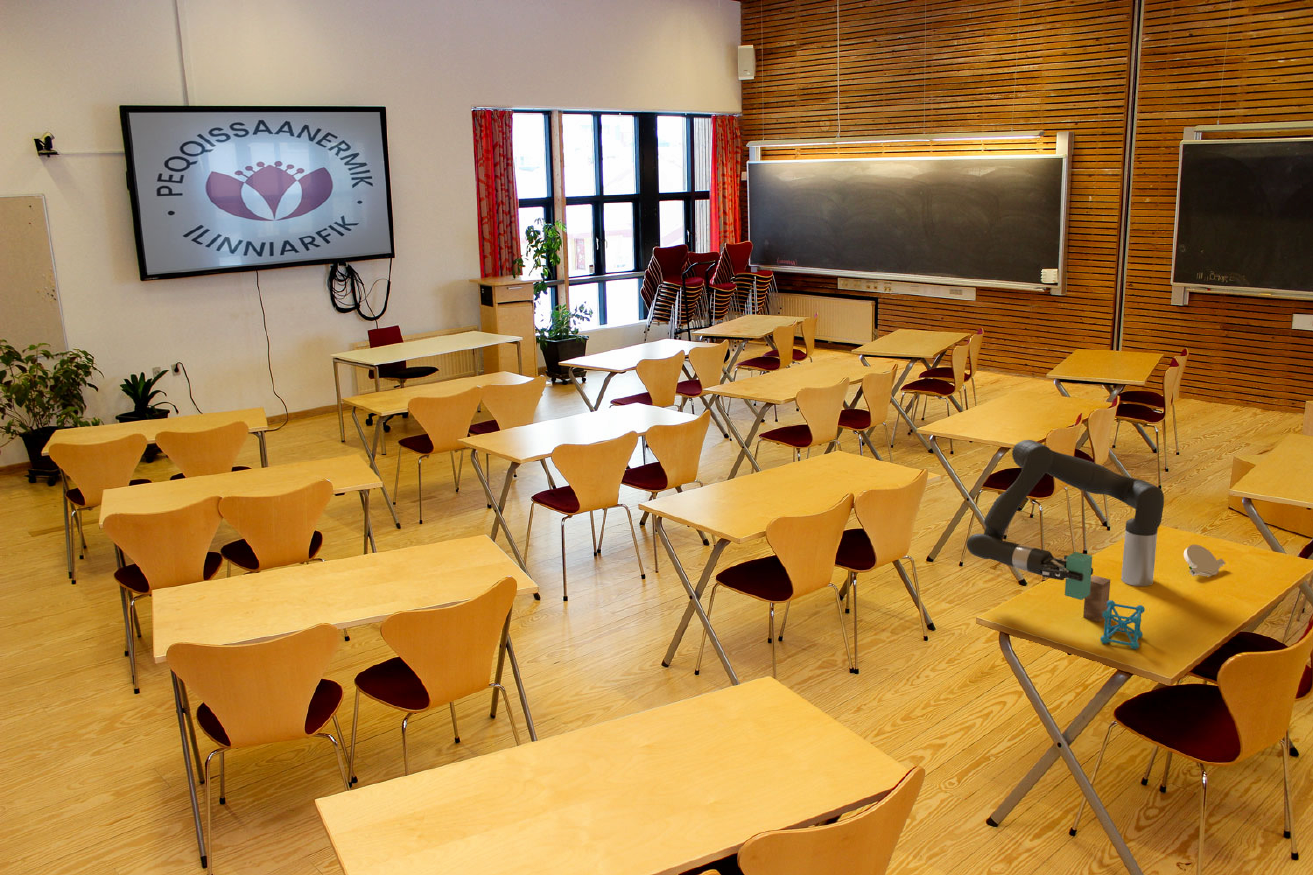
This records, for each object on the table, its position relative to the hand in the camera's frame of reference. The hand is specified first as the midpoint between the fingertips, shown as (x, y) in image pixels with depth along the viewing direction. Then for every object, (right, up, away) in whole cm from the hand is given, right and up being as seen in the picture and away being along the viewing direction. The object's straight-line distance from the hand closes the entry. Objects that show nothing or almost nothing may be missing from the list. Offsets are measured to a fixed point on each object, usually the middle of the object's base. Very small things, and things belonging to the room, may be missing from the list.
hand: (1087, 574), depth 286 cm
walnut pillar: (+9, -15, +15) cm, 23 cm away
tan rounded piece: (+55, -5, +43) cm, 70 cm away
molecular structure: (+10, -19, 0) cm, 21 cm away
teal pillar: (-1, -6, +4) cm, 7 cm away
